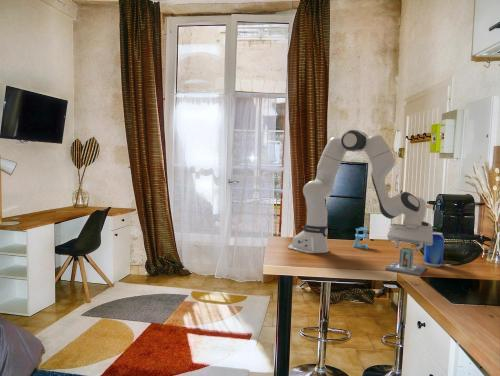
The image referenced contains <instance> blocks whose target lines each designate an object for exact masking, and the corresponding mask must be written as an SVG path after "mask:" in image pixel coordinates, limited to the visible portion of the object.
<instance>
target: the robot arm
mask: <svg viewBox="0 0 500 376" xmlns="http://www.w3.org/2000/svg"><path fill="white" fill-rule="evenodd" d="M347 152H352V153H353V152H354V153H357V152H365V153H366V155H367V158H368V159H369V161H370V164H371V169H372V171H371V180H372V184H373V187H374V191H375V194H376V197H377V200H378V206H379V211H380V213H381V214H382V216H383V217H385V218H387V219H389V220H391V219H392V220H393V219H394V218H397V217H399V216H401V215H404V218H403V222H402V224H399V223H393V224H390V225H389V228H388V229H389V230H388V232H387V235H386V236H387V239H388V241H391V242H392V241H393V242H394V248H395V249H397V250H398V249H399V250H400V244H399V243H407V244H415V245H417V246H415V252H418V253H419V252H420V251H421V249H422V248H424V246H425V245H427V246H431V245H432V244H433V233H432V232H433V227H432V223H429V222H426V221H424V219H425V218H426V213H427V202H426V201H425V199H424V198H422V197H420V196H415V195H414V194H412V193H410V192H408V191H403V192H401V193H399V194H396V195H394V196H391V197H390V195H389V192H388V190H387V186H386V178H387V176H388V175H389V174H390V172H392V170H393V168H394V167H395V163H396V161H395V157H394V156H395V155H394V154H393V151H392V150H391V148H390V147H389V144H388V143H387V141H386V140H385V138H384V137H383V136H382V135H380V134H372V135H369V136H368V134H366V133H365V132H363V131H361V130H358V129H350V130H347V131H345V132H344V133H343V134H342V136H341V137H339V136H333V137H331V138H330V139H329V140H328V142H327V143H326V145H325V147H324V149H323V150H322V154H321V155H320V157H319V161H318V163H317V166H316V176H315V179H314V180H310V181H308V182H307V183H305V184H304V186H303V188H302V193H303V197H304V199H305V204H306V224H304V225H302V227H301V228H302V229H303V230H301V232H299V233H297V234H296V235H295V236H294V237H292V238H293V239H292V242H291V244H289V245H288V246H287V249H290V250H292V251H297V252H301V253H307V254H325V253H329V247H328V238H327V237H328V231H329V230H328V228H329V227H328V209H327V207H326V206H327V205H326V199H328V198H330V197H331V195H333V193H334V187H335V186H334V185H335V180H336V177H337V173H338V171H339V169H340V166H341V163H342V161H343V159H344V157H345V155H346V153H347ZM398 242H399V243H398Z"/></svg>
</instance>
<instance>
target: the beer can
mask: <svg viewBox="0 0 500 376" xmlns="http://www.w3.org/2000/svg"><path fill="white" fill-rule="evenodd" d="M432 233H433V244H432V245H431V246H427V245H424V250H423V251H424V254H423V262H424V265H425V266H428V267H435V268H437V267H441V266H442V264H443V262H444V261H443V260H444V248H445V247H444V246H445V237H444V235H443V232H439V231H438V232H437V231H432Z"/></svg>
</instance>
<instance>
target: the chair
mask: <svg viewBox="0 0 500 376" xmlns="http://www.w3.org/2000/svg"><path fill="white" fill-rule="evenodd" d="M355 231H356V233H355V234H354V235H355V236H354V237H355V239H354V242H353V244H352V246H353V248H357V249H363V250H369V246H368V244H359V243H358V242H359V241H360V240H361V239H368V235H367V233H368V231H369V230H368V228H367V227H363V226H360V227H358V228H355ZM361 231H362V232H364V233H363V234H359V232H361Z"/></svg>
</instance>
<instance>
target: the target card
mask: <svg viewBox="0 0 500 376" xmlns="http://www.w3.org/2000/svg"><path fill="white" fill-rule="evenodd" d="M399 262H400V261H396V260H393V261H392V262H391V263H389V264H388V265H387V266H385V271H388V270H389V271H388V272H393V273H394V272H395V273H401V274H406V275H412V276H417V277H421V276H422V274H423V273H424V272H425V271H426V270H427V265H419V264H414V263H413V267H412V268H411V269H408V268H402V267H399Z"/></svg>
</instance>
